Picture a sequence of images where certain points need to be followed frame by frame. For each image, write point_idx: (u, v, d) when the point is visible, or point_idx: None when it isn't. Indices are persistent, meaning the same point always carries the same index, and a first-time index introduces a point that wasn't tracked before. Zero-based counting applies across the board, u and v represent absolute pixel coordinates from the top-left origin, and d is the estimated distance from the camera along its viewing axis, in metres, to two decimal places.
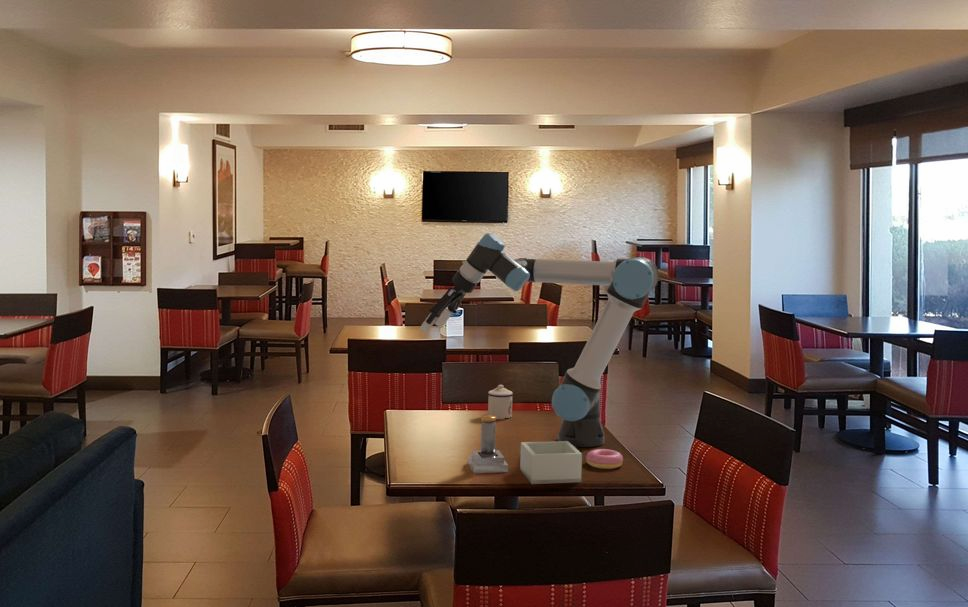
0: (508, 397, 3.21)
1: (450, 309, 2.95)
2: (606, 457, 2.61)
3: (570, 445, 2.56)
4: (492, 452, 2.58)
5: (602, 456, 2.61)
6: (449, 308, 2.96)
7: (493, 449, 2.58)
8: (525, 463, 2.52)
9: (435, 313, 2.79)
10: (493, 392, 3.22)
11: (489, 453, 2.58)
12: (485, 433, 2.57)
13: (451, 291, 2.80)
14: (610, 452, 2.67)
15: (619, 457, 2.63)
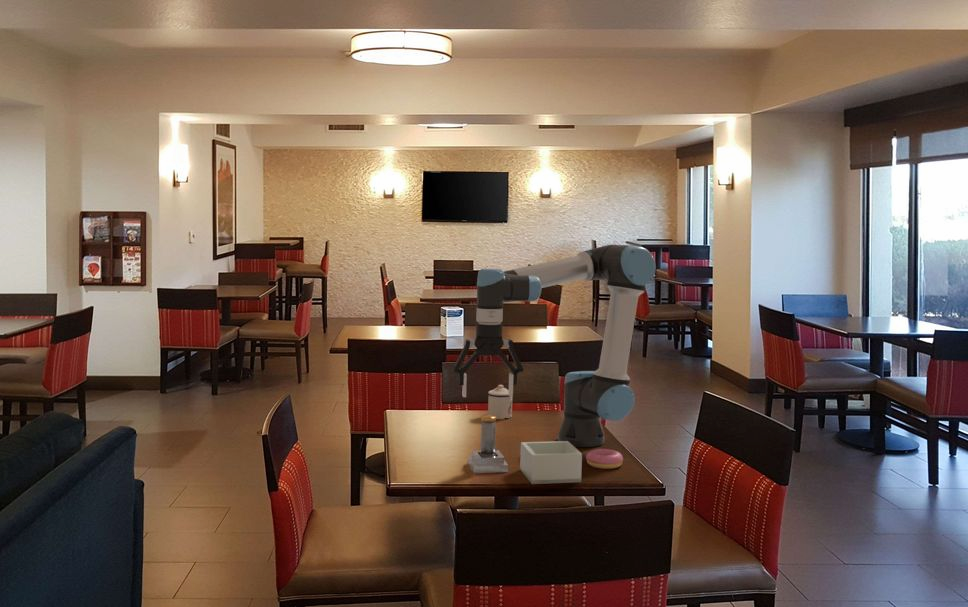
0: (508, 397, 3.21)
1: None
2: (606, 457, 2.61)
3: (570, 445, 2.56)
4: (492, 452, 2.58)
5: (602, 456, 2.62)
6: None
7: (493, 449, 2.58)
8: (525, 463, 2.52)
9: None
10: (493, 392, 3.22)
11: (489, 453, 2.58)
12: (485, 433, 2.57)
13: None
14: (610, 452, 2.67)
15: (619, 457, 2.63)
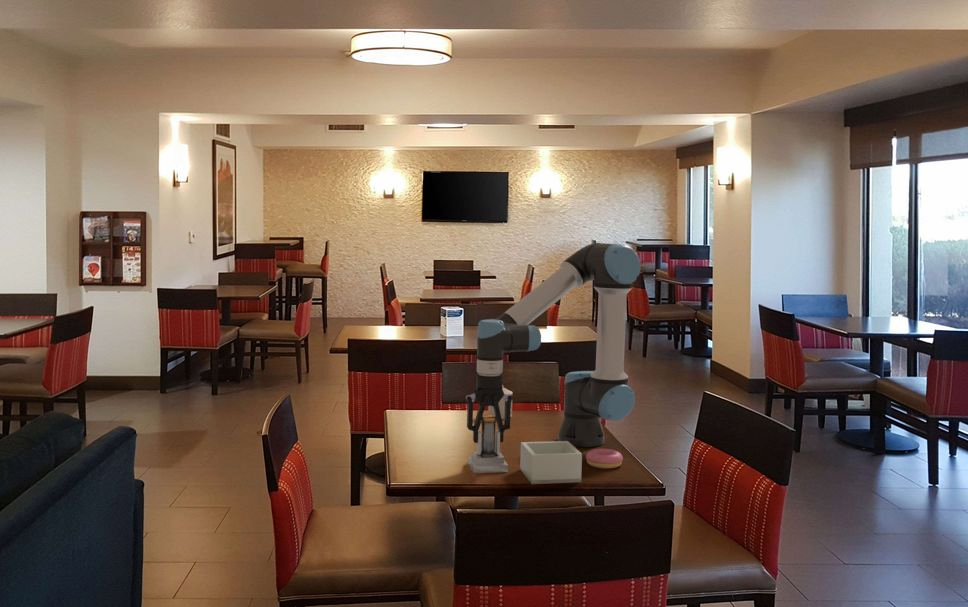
0: None
1: None
2: (606, 457, 2.61)
3: (570, 445, 2.56)
4: (492, 452, 2.58)
5: (602, 456, 2.62)
6: None
7: (493, 449, 2.58)
8: (525, 463, 2.52)
9: None
10: None
11: (489, 453, 2.58)
12: (485, 433, 2.57)
13: None
14: (610, 452, 2.67)
15: (619, 457, 2.63)
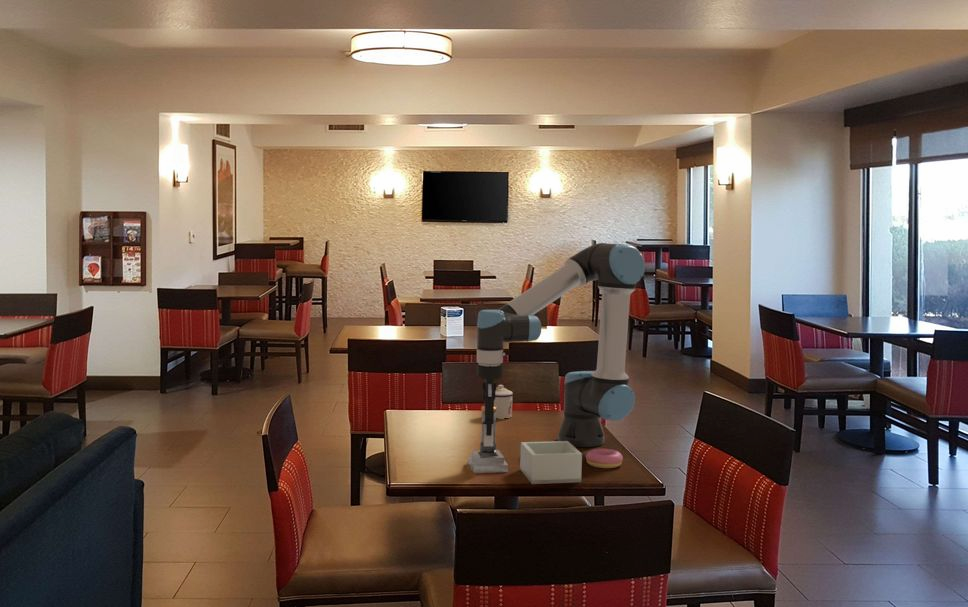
0: (508, 397, 3.21)
1: None
2: (606, 457, 2.62)
3: (570, 445, 2.56)
4: None
5: (602, 456, 2.62)
6: None
7: None
8: (525, 463, 2.52)
9: None
10: None
11: (495, 442, 2.59)
12: (494, 423, 2.58)
13: None
14: (610, 451, 2.68)
15: (619, 456, 2.63)
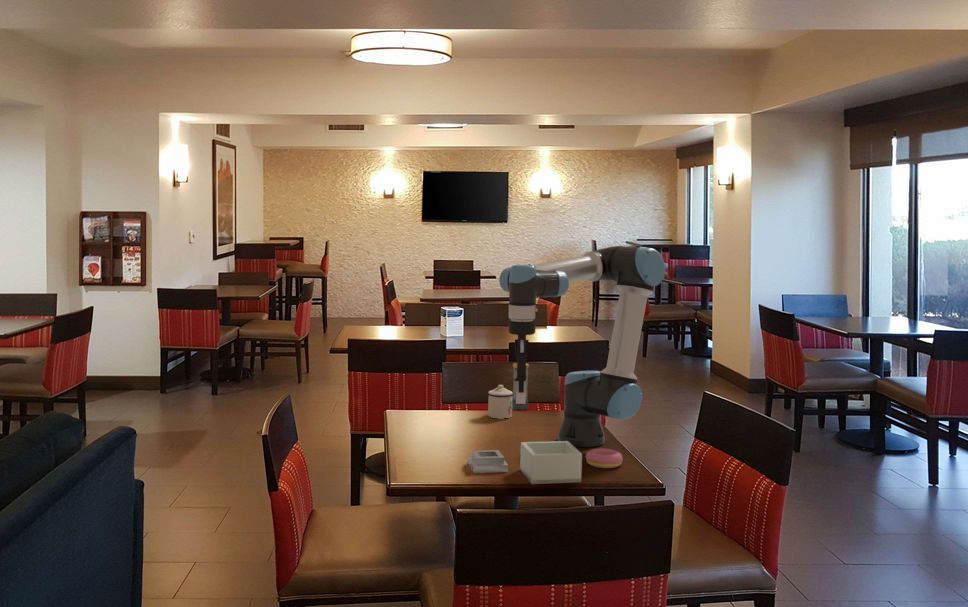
0: (508, 397, 3.21)
1: None
2: (606, 456, 2.62)
3: (570, 445, 2.56)
4: None
5: (602, 455, 2.62)
6: None
7: None
8: (525, 463, 2.52)
9: None
10: (493, 392, 3.22)
11: None
12: (526, 380, 2.53)
13: None
14: (610, 451, 2.68)
15: (619, 456, 2.63)
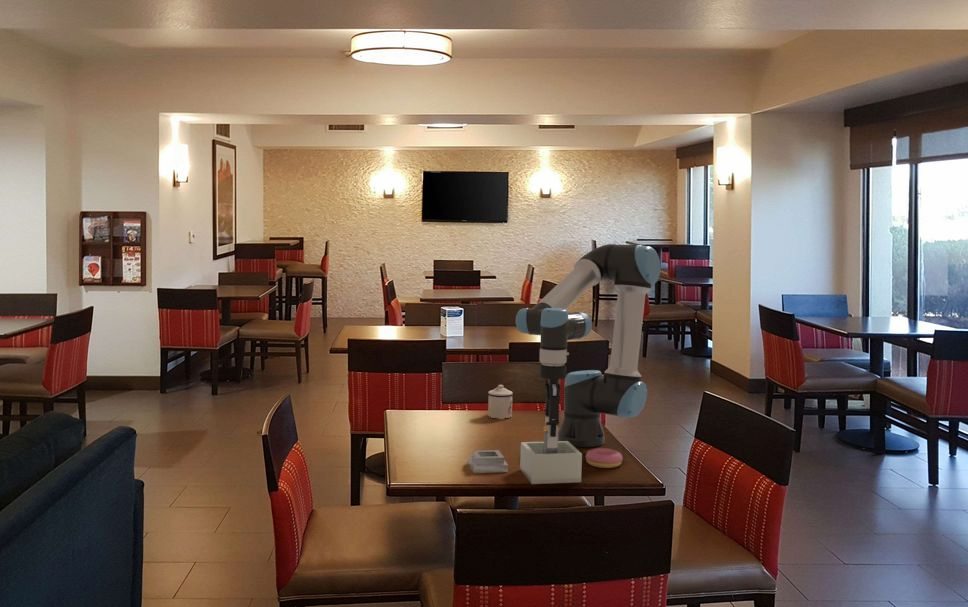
0: (508, 397, 3.21)
1: None
2: (605, 456, 2.62)
3: (570, 445, 2.56)
4: None
5: (602, 455, 2.62)
6: None
7: None
8: (525, 463, 2.52)
9: None
10: (493, 392, 3.22)
11: None
12: None
13: None
14: (609, 451, 2.68)
15: (618, 456, 2.63)
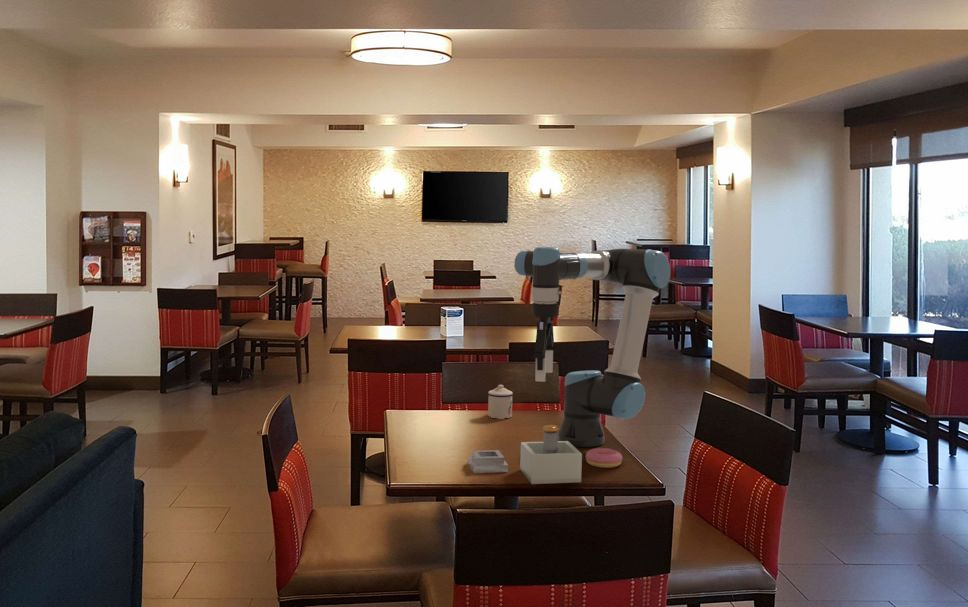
0: (508, 397, 3.21)
1: None
2: (605, 456, 2.62)
3: (570, 445, 2.56)
4: None
5: (601, 455, 2.63)
6: None
7: None
8: (525, 463, 2.52)
9: None
10: (493, 392, 3.22)
11: None
12: (556, 443, 2.51)
13: None
14: (609, 451, 2.68)
15: (618, 456, 2.64)
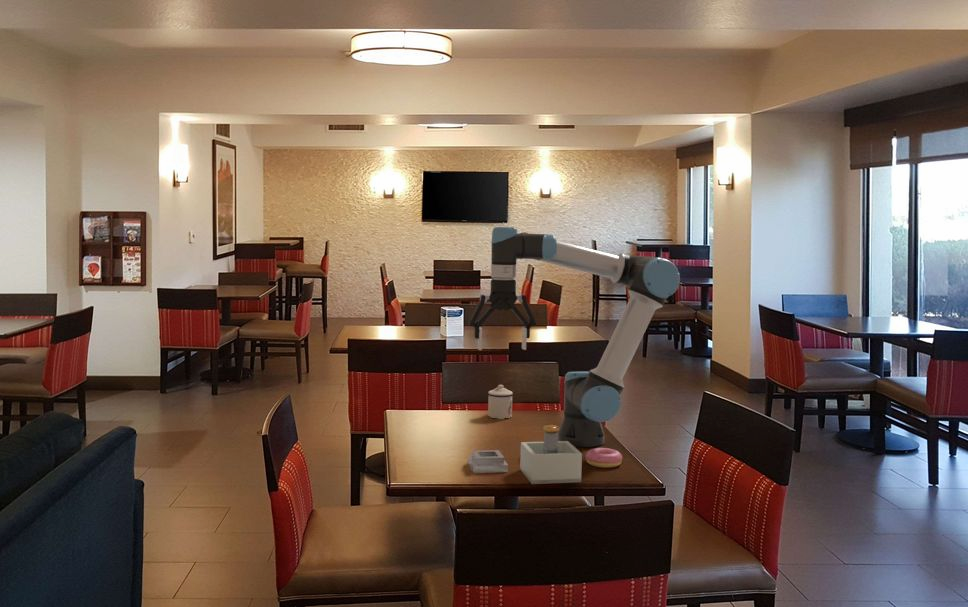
0: (508, 397, 3.21)
1: None
2: (605, 456, 2.62)
3: (570, 445, 2.56)
4: None
5: (601, 455, 2.63)
6: None
7: None
8: (525, 463, 2.52)
9: None
10: (493, 392, 3.22)
11: None
12: (556, 443, 2.51)
13: None
14: (609, 451, 2.68)
15: (618, 456, 2.64)
